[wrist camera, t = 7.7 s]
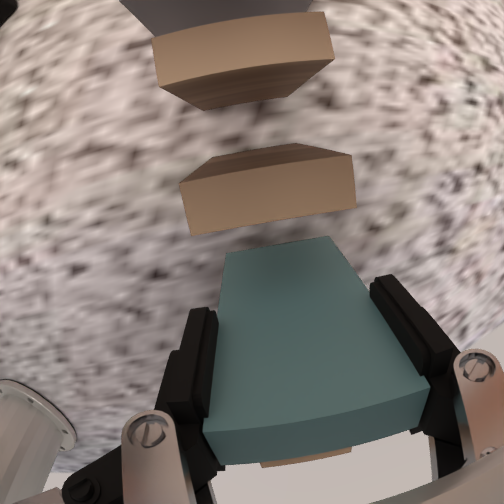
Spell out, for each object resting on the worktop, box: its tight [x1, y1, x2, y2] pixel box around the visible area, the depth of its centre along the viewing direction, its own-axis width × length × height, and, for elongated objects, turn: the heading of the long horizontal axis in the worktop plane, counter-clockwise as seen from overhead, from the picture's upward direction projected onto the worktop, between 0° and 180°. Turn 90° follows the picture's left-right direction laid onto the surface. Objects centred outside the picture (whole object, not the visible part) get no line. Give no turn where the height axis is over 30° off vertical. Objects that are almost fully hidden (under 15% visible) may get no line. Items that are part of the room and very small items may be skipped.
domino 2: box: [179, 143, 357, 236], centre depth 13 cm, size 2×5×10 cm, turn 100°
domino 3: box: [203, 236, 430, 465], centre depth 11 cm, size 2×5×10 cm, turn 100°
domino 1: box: [151, 12, 335, 111], centre depth 12 cm, size 2×5×10 cm, turn 100°
